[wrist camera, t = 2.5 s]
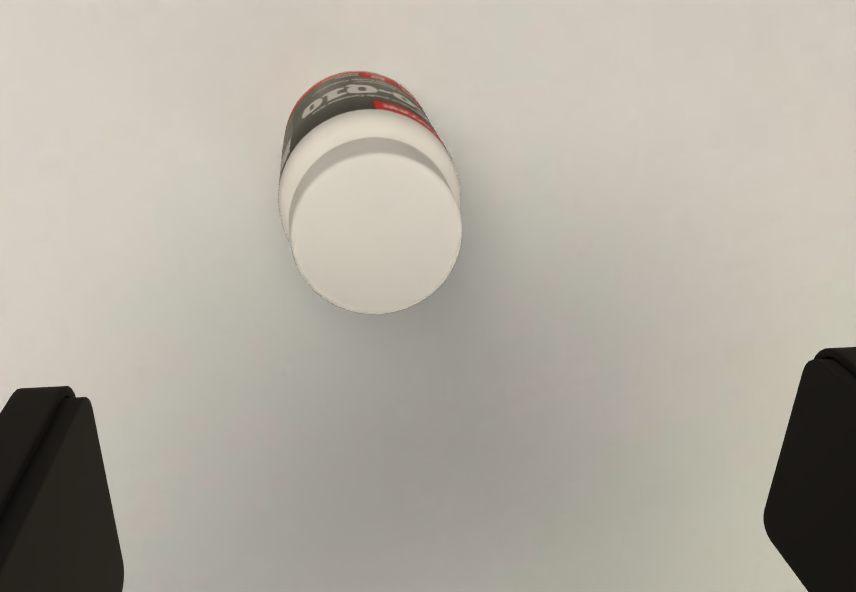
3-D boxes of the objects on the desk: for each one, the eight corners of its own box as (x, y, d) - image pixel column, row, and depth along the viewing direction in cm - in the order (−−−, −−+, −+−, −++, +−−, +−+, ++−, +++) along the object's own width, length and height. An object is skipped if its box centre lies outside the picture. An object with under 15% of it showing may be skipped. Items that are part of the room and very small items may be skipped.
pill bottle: (432, 70, 24) (490, 135, 17) (425, 211, 26) (474, 325, 19) (280, 66, 24) (270, 133, 16) (285, 212, 26) (278, 330, 18)
